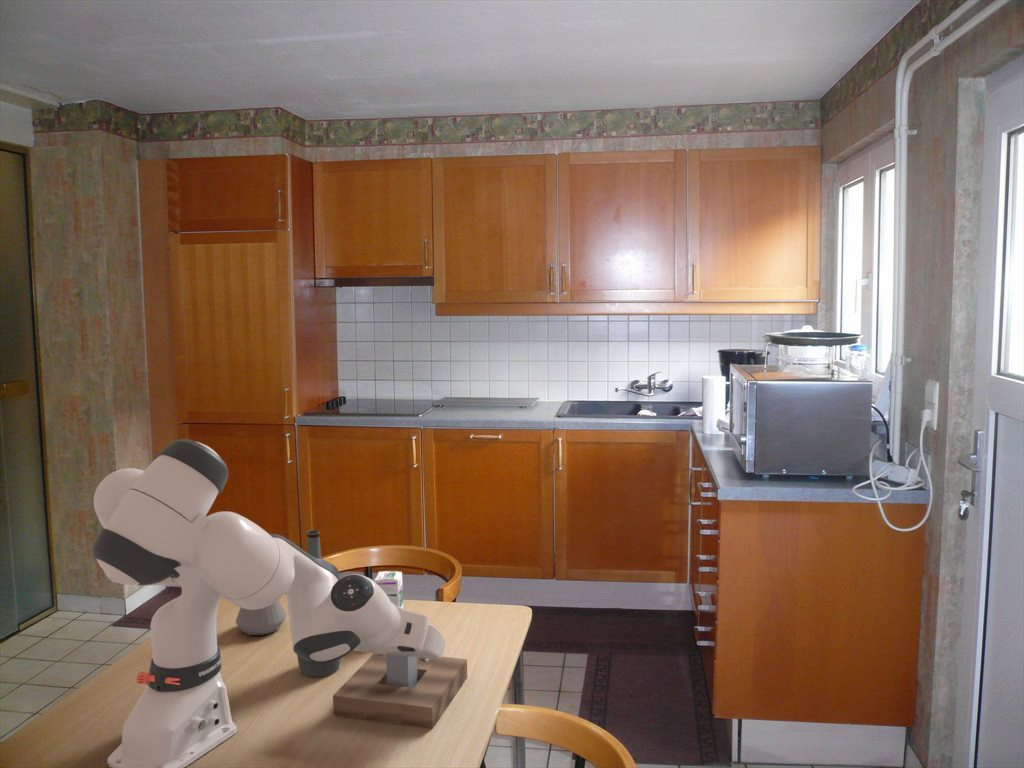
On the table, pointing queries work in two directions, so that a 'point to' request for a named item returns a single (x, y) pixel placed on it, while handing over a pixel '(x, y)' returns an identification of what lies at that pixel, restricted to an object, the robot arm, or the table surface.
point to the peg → (401, 670)
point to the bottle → (305, 666)
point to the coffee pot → (261, 619)
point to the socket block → (401, 692)
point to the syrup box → (391, 586)
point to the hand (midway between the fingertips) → (403, 655)
